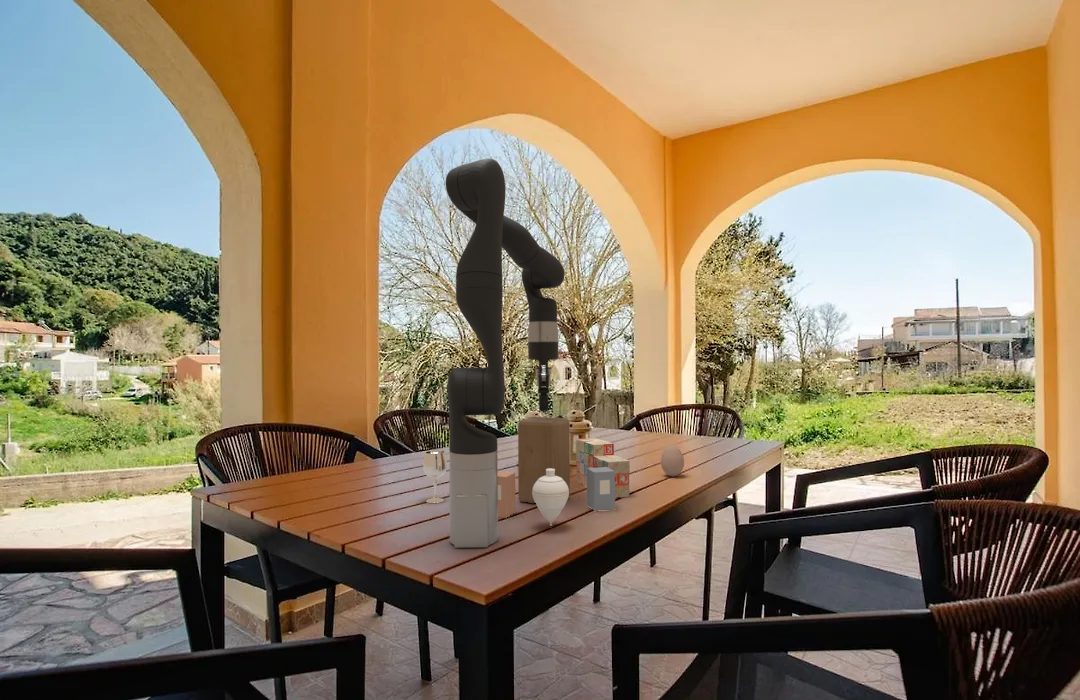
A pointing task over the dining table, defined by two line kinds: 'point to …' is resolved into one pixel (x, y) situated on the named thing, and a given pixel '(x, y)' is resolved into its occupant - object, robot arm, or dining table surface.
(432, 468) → the wineglass
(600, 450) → the stack of blocks
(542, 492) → the spinning top
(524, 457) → the wooden block
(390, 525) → the dining table surface
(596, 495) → the slate painted block
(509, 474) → the terracotta painted block
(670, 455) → the egg
